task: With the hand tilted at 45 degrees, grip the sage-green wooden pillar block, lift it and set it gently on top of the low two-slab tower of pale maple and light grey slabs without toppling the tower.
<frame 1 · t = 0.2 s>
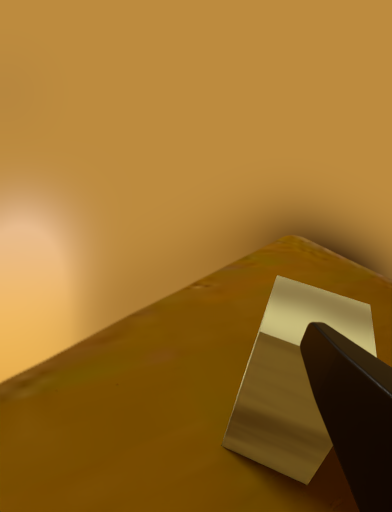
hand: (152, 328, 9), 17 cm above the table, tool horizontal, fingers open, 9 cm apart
pillar block: (270, 426, 25), on the table
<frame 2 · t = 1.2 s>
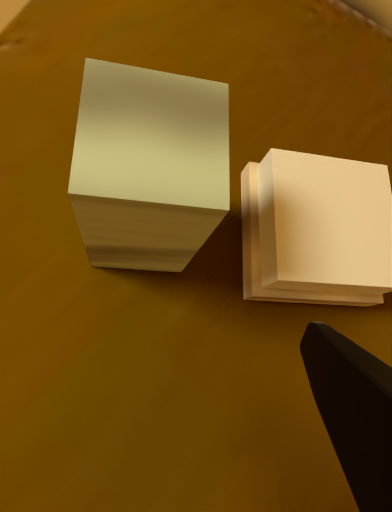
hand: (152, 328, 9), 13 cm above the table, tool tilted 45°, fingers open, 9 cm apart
tower base slab: (298, 241, 27), on the table
tower top slab: (316, 230, 25), point 2 cm above the table
pillar block: (140, 227, 24), on the table
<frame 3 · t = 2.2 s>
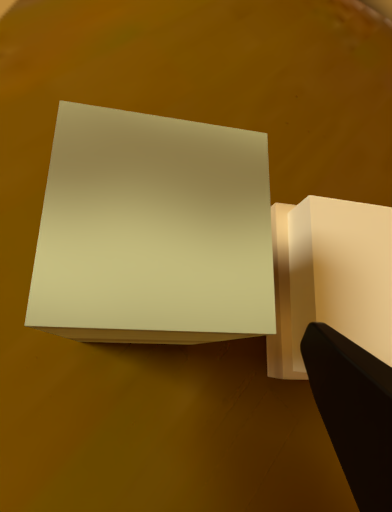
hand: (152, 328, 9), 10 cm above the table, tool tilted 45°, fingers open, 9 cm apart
tower base slab: (332, 296, 22), on the table
tower top slab: (360, 293, 20), point 2 cm above the table
pillar block: (140, 288, 19), on the table
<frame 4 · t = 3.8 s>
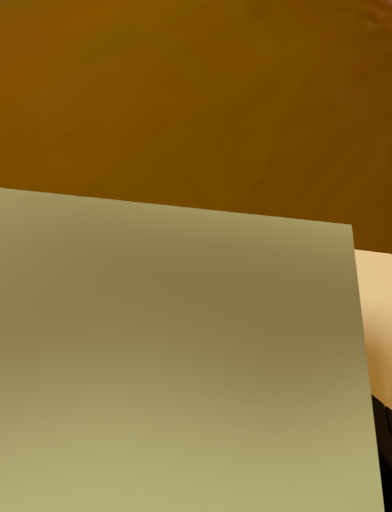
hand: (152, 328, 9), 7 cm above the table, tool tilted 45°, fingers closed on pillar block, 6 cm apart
pillar block: (136, 370, 15), on the table, touching gripper
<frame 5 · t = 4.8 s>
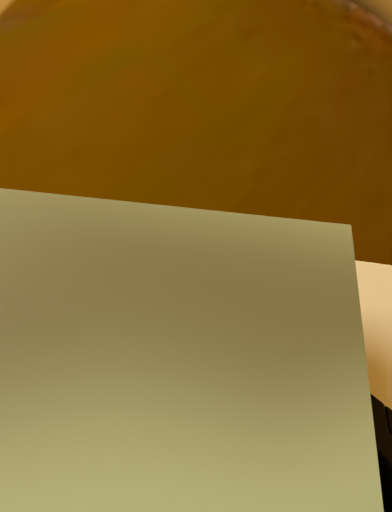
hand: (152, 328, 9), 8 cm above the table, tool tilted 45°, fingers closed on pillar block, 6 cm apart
tower top slab: (384, 364, 17), point 2 cm above the table, touching tower base slab
pillar block: (136, 370, 15), point 2 cm above the table, touching gripper
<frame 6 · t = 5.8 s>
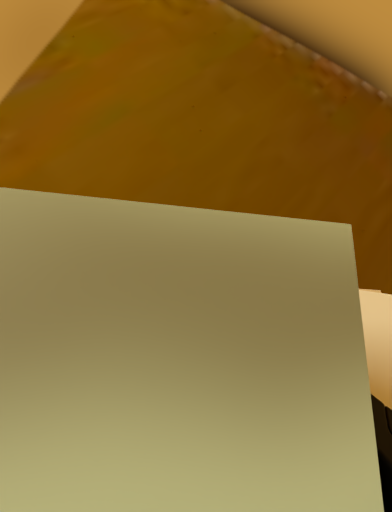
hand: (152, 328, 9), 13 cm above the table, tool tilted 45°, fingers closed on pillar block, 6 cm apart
tower top slab: (327, 362, 22), point 2 cm above the table, touching tower base slab
pillar block: (136, 369, 15), point 7 cm above the table, touching gripper
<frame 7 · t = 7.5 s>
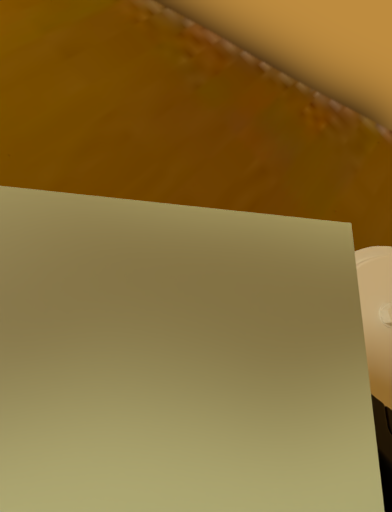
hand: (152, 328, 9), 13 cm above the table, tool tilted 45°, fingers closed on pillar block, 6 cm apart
lid: (361, 343, 25), on the table
pillar block: (136, 369, 15), point 6 cm above the table, touching gripper
when the fingers open (12 cm above the table, at t = 8.2 s): pillar block stays where it is, resting on tower top slab.
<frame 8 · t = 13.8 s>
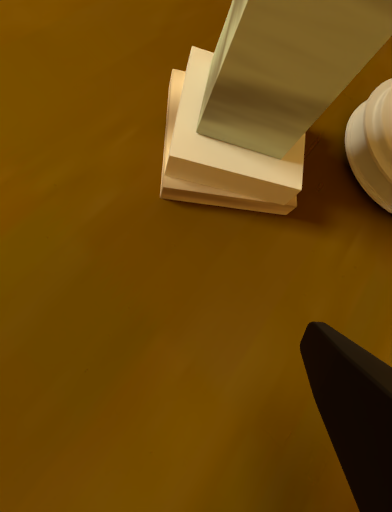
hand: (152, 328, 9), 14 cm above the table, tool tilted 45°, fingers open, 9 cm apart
tower base slab: (224, 154, 28), on the table, touching tower top slab
tower top slab: (233, 137, 26), point 2 cm above the table, touching pillar block, tower base slab
pillar block: (245, 109, 23), point 4 cm above the table, touching tower top slab
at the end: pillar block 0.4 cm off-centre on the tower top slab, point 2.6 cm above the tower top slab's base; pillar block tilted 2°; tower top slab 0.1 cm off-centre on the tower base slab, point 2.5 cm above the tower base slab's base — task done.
